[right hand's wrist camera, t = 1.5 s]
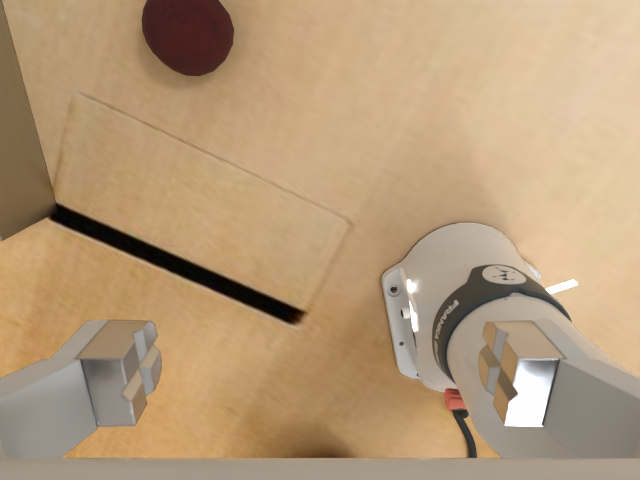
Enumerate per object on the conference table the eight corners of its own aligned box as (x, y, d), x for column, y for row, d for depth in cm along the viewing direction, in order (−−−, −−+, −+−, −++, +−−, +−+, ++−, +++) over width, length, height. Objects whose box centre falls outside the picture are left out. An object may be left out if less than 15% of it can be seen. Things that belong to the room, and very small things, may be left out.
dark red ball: (153, -7, 39) (120, -23, 33) (235, -11, 39) (218, -27, 32) (167, 77, 42) (139, 78, 35) (244, 74, 42) (230, 74, 35)
